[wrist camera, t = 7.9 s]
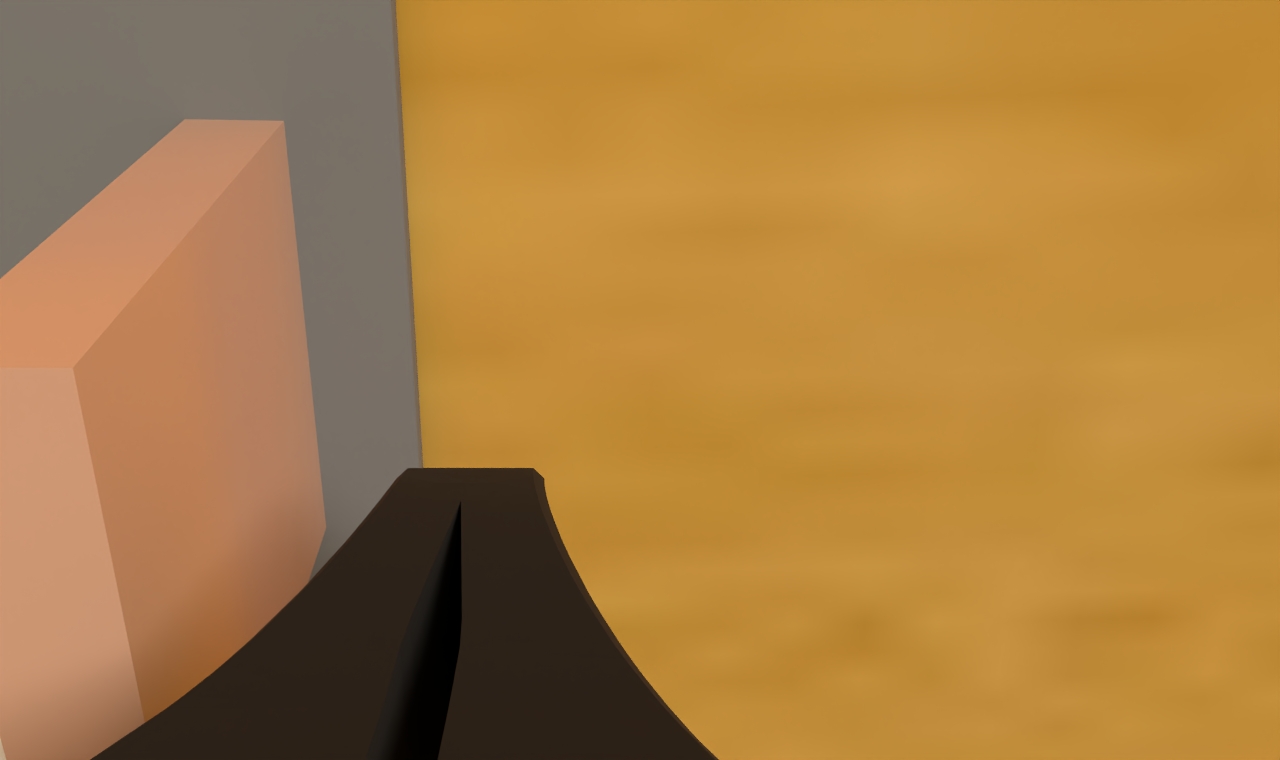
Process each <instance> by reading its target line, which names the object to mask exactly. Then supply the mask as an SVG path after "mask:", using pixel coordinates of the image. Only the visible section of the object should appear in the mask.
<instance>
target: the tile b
mask: <svg viewBox="0 0 1280 760" xmlns="http://www.w3.org/2000/svg"><path fill="white" fill-rule="evenodd" d="M325 530H326V521H325V511H324V502H323V492H322V482H321V473H320V463H319V454H318V444H317V434H316V425H315V415H314V406H313V396H312V386H311V377H310V367H309V358H308V348H307V338H306V329H305V319H304V310H303V300H302V290H301V281H300V271H299V262H298V252H297V242H296V233H295V223H294V213H293V204H292V194H291V185H290V175H289V165H288V156H287V146H286V137H285V127H284V121H266V120H205V119H184V120H183V121H182V122H181V123H180V124H179V125H178V126H176V127H175V128H174V129H173V130H172V131H171V132H169V133H168V134H167V135H166V136H165V137H164V138H163V139H161V140H160V141H159V142H158V143H157V144H156V145H154V146H153V147H152V148H151V149H150V150H149V151H147V152H146V153H145V154H144V155H143V156H142V157H141V158H139V159H138V160H137V161H136V162H135V163H134V164H132V165H131V166H130V167H129V168H128V169H127V170H126V171H124V172H123V173H122V174H121V175H120V176H119V177H117V178H116V179H115V180H114V181H113V182H112V183H111V184H109V185H108V186H107V187H106V188H105V189H104V190H102V191H101V192H100V193H99V194H98V195H97V196H95V197H94V198H93V199H92V200H91V201H90V202H89V203H87V204H86V205H85V206H84V207H83V208H82V209H80V210H79V211H78V212H77V213H76V214H75V215H74V216H72V217H71V218H70V219H69V220H68V221H67V222H65V223H64V224H63V225H62V226H61V227H60V228H58V229H57V230H56V231H55V232H54V233H53V234H52V235H50V236H49V237H48V238H47V239H46V240H45V241H43V242H42V243H41V244H40V245H39V246H38V247H37V248H35V249H34V250H33V251H32V252H31V253H30V254H28V255H27V256H26V257H25V258H24V259H23V260H22V261H20V262H19V263H18V264H17V265H16V266H15V267H13V268H12V269H11V270H10V271H9V272H8V273H6V274H5V275H4V276H3V277H2V278H1V279H0V760H90V759H92V758H93V757H95V756H96V755H98V754H99V753H101V752H102V751H103V750H105V749H106V748H108V747H109V746H111V745H112V744H114V743H115V742H117V741H118V740H120V739H121V738H123V737H124V736H126V735H127V734H129V733H130V732H132V731H133V730H135V729H136V728H138V727H139V726H141V725H142V724H144V723H145V722H147V721H148V720H150V719H151V718H153V717H154V716H156V715H157V714H159V713H160V712H162V711H163V710H165V709H166V708H167V707H169V706H170V705H171V704H173V703H174V702H175V701H177V700H178V699H180V698H181V697H182V696H184V695H185V694H186V693H187V692H189V691H190V690H191V689H192V688H194V687H195V686H196V685H198V684H199V683H200V682H201V681H203V680H204V679H205V678H206V677H208V676H209V675H210V674H211V673H213V672H214V671H215V670H216V669H217V668H219V667H220V666H221V665H222V664H223V663H225V662H226V661H227V660H228V659H229V658H230V657H231V656H233V655H234V654H235V653H236V652H237V651H238V650H239V649H240V648H242V647H243V646H244V645H245V644H246V643H247V642H248V641H249V640H251V639H252V638H253V637H254V636H255V635H256V634H257V633H258V632H259V631H260V630H261V629H262V628H263V627H264V626H265V625H266V624H267V623H268V622H269V621H270V620H271V619H272V618H273V617H274V616H275V615H276V614H277V613H278V612H279V611H280V610H281V609H282V608H284V607H285V606H286V605H287V604H288V603H289V602H290V601H291V600H292V599H293V598H294V597H295V596H296V595H297V594H298V593H299V592H300V591H301V590H302V589H303V588H304V587H305V586H306V585H307V584H308V581H309V578H310V575H311V572H312V569H313V566H314V563H315V560H316V557H317V554H318V551H319V548H320V545H321V542H322V539H323V536H324V533H325Z"/></svg>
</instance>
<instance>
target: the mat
mask: <svg viewBox="0 0 1280 760" xmlns="http://www.w3.org/2000/svg"><path fill="white" fill-rule="evenodd" d="M184 119H205V120H266V121H284V127H285V137H286V146H287V156H288V165H289V175H290V185H291V194H292V204H293V213H294V223H295V233H296V242H297V252H298V262H299V271H300V281H301V290H302V300H303V310H304V319H305V329H306V338H307V348H308V358H309V367H310V377H311V386H312V396H313V406H314V415H315V425H316V434H317V444H318V454H319V463H320V473H321V482H322V492H323V502H324V511H325V521H326V530H325V533H324V536H323V539H322V542H321V545H320V548H319V551H318V554H317V557H316V560H315V563H314V566H313V569H312V572H311V575H310V578H309V581H310V580H311V579H312V578H313V577H314V576H315V575H316V574H317V573H318V572H319V570H320V569H321V568H322V567H323V566H324V565H325V564H326V563H327V562H328V560H329V559H330V558H331V557H332V556H333V555H334V554H335V553H336V552H337V550H338V549H339V548H340V547H341V546H342V545H343V544H344V543H345V542H346V540H347V539H348V538H349V537H350V536H351V534H352V533H353V532H354V531H355V530H356V529H357V527H358V526H359V525H360V524H361V523H362V521H363V520H364V519H365V518H366V517H367V515H368V514H369V513H370V512H371V510H372V509H373V508H374V507H375V505H376V504H377V503H378V502H379V500H380V499H381V498H382V497H383V495H384V494H385V493H386V491H387V490H388V489H389V488H390V486H391V485H392V484H393V482H394V481H395V480H396V478H397V477H399V476H400V475H401V474H402V473H403V472H404V471H405V470H406V469H407V468H423V459H422V442H421V425H420V408H419V391H418V375H417V358H416V341H415V324H414V307H413V290H412V273H411V256H410V239H409V223H408V206H407V189H406V172H405V155H404V138H403V121H402V104H401V87H400V71H399V54H398V37H397V20H396V3H395V0H0V279H1V278H2V277H3V276H4V275H5V274H6V273H8V272H9V271H10V270H11V269H12V268H13V267H15V266H16V265H17V264H18V263H19V262H20V261H22V260H23V259H24V258H25V257H26V256H27V255H28V254H30V253H31V252H32V251H33V250H34V249H35V248H37V247H38V246H39V245H40V244H41V243H42V242H43V241H45V240H46V239H47V238H48V237H49V236H50V235H52V234H53V233H54V232H55V231H56V230H57V229H58V228H60V227H61V226H62V225H63V224H64V223H65V222H67V221H68V220H69V219H70V218H71V217H72V216H74V215H75V214H76V213H77V212H78V211H79V210H80V209H82V208H83V207H84V206H85V205H86V204H87V203H89V202H90V201H91V200H92V199H93V198H94V197H95V196H97V195H98V194H99V193H100V192H101V191H102V190H104V189H105V188H106V187H107V186H108V185H109V184H111V183H112V182H113V181H114V180H115V179H116V178H117V177H119V176H120V175H121V174H122V173H123V172H124V171H126V170H127V169H128V168H129V167H130V166H131V165H132V164H134V163H135V162H136V161H137V160H138V159H139V158H141V157H142V156H143V155H144V154H145V153H146V152H147V151H149V150H150V149H151V148H152V147H153V146H154V145H156V144H157V143H158V142H159V141H160V140H161V139H163V138H164V137H165V136H166V135H167V134H168V133H169V132H171V131H172V130H173V129H174V128H175V127H176V126H178V125H179V124H180V123H181V122H182V121H183V120H184ZM309 581H308V582H309Z"/></svg>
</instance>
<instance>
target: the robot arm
mask: <svg viewBox="0 0 1280 760" xmlns="http://www.w3.org/2000/svg"><path fill="white" fill-rule="evenodd" d="M90 760H718V759H717V758H716V757H715V756H714V755H713V754H712V753H711V752H710V751H709V750H708V749H707V748H706V747H705V746H704V745H703V744H702V743H701V742H700V741H699V740H698V739H697V738H696V737H695V736H694V735H693V734H692V733H691V732H690V731H689V729H688V728H687V727H686V726H685V725H684V724H683V723H682V721H681V720H680V719H679V718H678V717H677V716H676V715H675V714H674V712H673V711H672V710H671V709H670V708H669V707H668V706H667V705H666V703H665V702H664V701H663V700H662V699H661V697H660V696H659V695H658V694H657V692H656V691H655V690H654V689H653V687H652V686H651V685H650V684H649V682H648V681H647V680H646V679H645V677H644V676H643V675H642V673H641V672H640V671H639V669H638V668H637V667H636V665H635V664H634V663H633V661H632V660H631V659H630V657H629V656H628V654H627V653H626V651H625V650H624V649H623V647H622V646H621V644H620V643H619V641H618V640H617V638H616V637H615V635H614V634H613V632H612V630H611V629H610V627H609V626H608V624H607V623H606V621H605V620H604V618H603V617H602V615H601V613H600V612H599V610H598V608H597V607H596V605H595V603H594V601H593V600H592V598H591V596H590V595H589V593H588V591H587V589H586V587H585V585H584V583H583V582H582V580H581V578H580V576H579V574H578V572H577V570H576V568H575V566H574V564H573V562H572V560H571V559H570V557H569V555H568V552H567V550H566V548H565V546H564V544H563V541H562V539H561V537H560V534H559V532H558V529H557V527H556V524H555V522H554V519H553V516H552V513H551V510H550V507H549V504H548V500H547V497H546V492H545V486H544V478H543V477H542V476H541V475H540V474H539V473H538V472H537V471H536V470H535V469H534V468H407V469H406V470H405V471H404V472H403V473H402V474H401V475H400V476H399V477H397V478H396V480H395V481H394V482H393V484H392V485H391V486H390V488H389V489H388V490H387V491H386V493H385V494H384V495H383V497H382V498H381V499H380V500H379V502H378V503H377V504H376V505H375V507H374V508H373V509H372V510H371V512H370V513H369V514H368V515H367V517H366V518H365V519H364V520H363V521H362V523H361V524H360V525H359V526H358V527H357V529H356V530H355V531H354V532H353V533H352V534H351V536H350V537H349V538H348V539H347V540H346V542H345V543H344V544H343V545H342V546H341V547H340V548H339V549H338V550H337V552H336V553H335V554H334V555H333V556H332V557H331V558H330V559H329V560H328V562H327V563H326V564H325V565H324V566H323V567H322V568H321V569H320V570H319V572H318V573H317V574H316V575H315V576H314V577H313V578H312V579H311V580H310V581H309V582H308V584H307V585H306V586H305V587H304V588H303V589H302V590H301V591H300V592H299V593H298V594H297V595H296V596H295V597H294V598H293V599H292V600H291V601H290V602H289V603H288V604H287V605H286V606H285V607H284V608H282V609H281V610H280V611H279V612H278V613H277V614H276V615H275V616H274V617H273V618H272V619H271V620H270V621H269V622H268V623H267V624H266V625H265V626H264V627H263V628H262V629H261V630H260V631H259V632H258V633H257V634H256V635H255V636H254V637H253V638H252V639H251V640H249V641H248V642H247V643H246V644H245V645H244V646H243V647H242V648H240V649H239V650H238V651H237V652H236V653H235V654H234V655H233V656H231V657H230V658H229V659H228V660H227V661H226V662H225V663H223V664H222V665H221V666H220V667H219V668H217V669H216V670H215V671H214V672H213V673H211V674H210V675H209V676H208V677H206V678H205V679H204V680H203V681H201V682H200V683H199V684H198V685H196V686H195V687H194V688H192V689H191V690H190V691H189V692H187V693H186V694H185V695H184V696H182V697H181V698H180V699H178V700H177V701H175V702H174V703H173V704H171V705H170V706H169V707H167V708H166V709H165V710H163V711H162V712H160V713H159V714H157V715H156V716H154V717H153V718H151V719H150V720H148V721H147V722H145V723H144V724H142V725H141V726H139V727H138V728H136V729H135V730H133V731H132V732H130V733H129V734H127V735H126V736H124V737H123V738H121V739H120V740H118V741H117V742H115V743H114V744H112V745H111V746H109V747H108V748H106V749H105V750H103V751H102V752H101V753H99V754H98V755H96V756H95V757H93V758H92V759H90Z"/></svg>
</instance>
